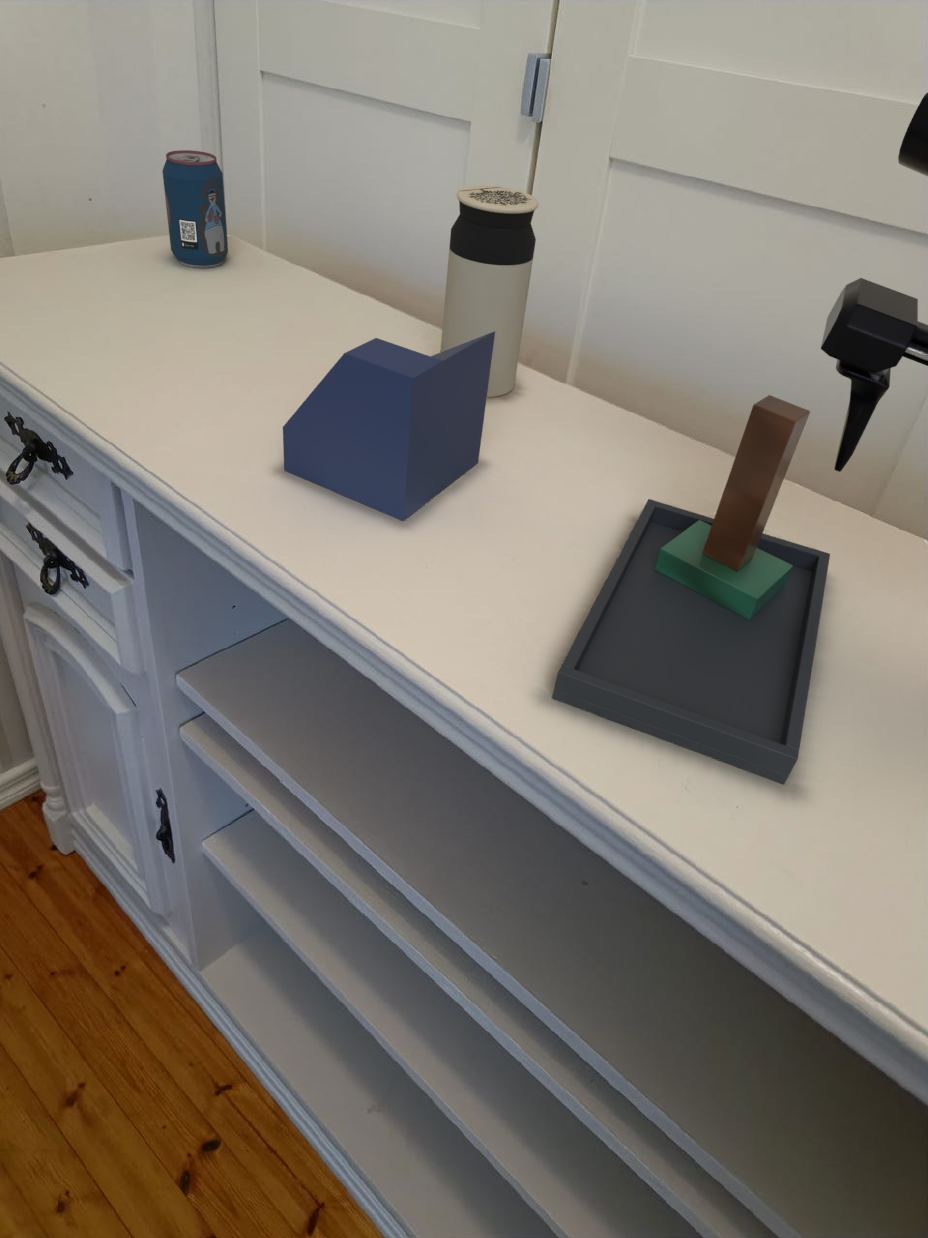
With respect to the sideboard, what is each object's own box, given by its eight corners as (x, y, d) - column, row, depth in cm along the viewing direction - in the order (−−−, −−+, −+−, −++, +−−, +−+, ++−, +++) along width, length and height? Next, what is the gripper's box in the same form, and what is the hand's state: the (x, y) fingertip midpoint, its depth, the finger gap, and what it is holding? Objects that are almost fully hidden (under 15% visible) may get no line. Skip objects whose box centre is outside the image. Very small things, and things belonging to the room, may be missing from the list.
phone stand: (367, 420, 80) (372, 291, 72) (478, 463, 76) (495, 330, 68) (284, 470, 71) (279, 329, 64) (403, 521, 67) (413, 377, 60)
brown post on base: (784, 586, 64) (857, 417, 55) (749, 620, 61) (821, 444, 52) (692, 540, 68) (747, 374, 59) (653, 569, 64) (706, 397, 55)
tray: (641, 521, 71) (648, 498, 69) (819, 577, 67) (830, 553, 66) (551, 698, 54) (557, 672, 52) (784, 785, 50) (797, 759, 49)
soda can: (183, 248, 111) (173, 145, 103) (235, 256, 111) (229, 153, 103) (163, 264, 106) (151, 157, 98) (218, 272, 106) (210, 166, 98)
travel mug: (528, 393, 88) (558, 206, 76) (462, 404, 84) (483, 210, 73) (488, 362, 93) (510, 182, 81) (424, 372, 89) (438, 185, 78)
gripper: (904, 224, 37) (747, 502, 48) (1347, 384, 35) (1075, 639, 46) (907, 168, 45) (771, 418, 56) (1268, 294, 43) (1053, 531, 53)
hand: (908, 496), depth 53 cm, fingers open, 9 cm apart
